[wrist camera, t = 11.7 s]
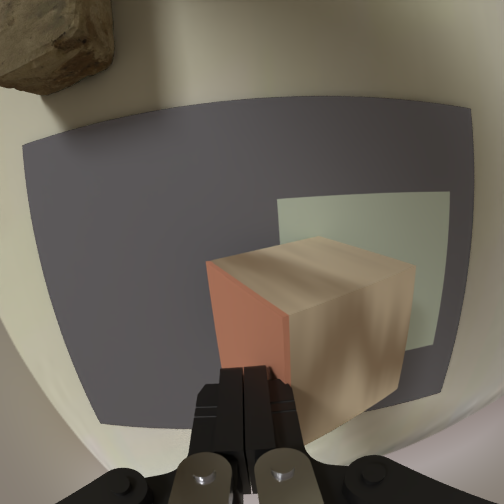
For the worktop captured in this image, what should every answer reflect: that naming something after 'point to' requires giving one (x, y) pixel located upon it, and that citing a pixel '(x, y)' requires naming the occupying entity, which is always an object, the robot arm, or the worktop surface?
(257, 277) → the maple cube
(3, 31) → the stone block
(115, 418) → the rubber mat
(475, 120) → the worktop surface
